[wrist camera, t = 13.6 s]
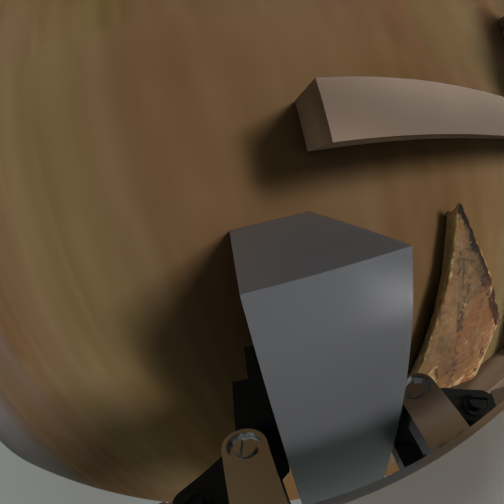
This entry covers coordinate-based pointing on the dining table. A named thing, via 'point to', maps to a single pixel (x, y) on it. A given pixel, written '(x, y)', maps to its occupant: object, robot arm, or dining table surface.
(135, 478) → the dining table surface
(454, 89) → the walnut frame
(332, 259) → the block
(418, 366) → the shard
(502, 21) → the cupcake
